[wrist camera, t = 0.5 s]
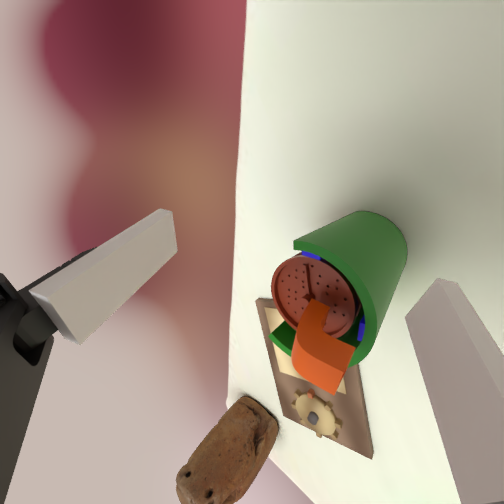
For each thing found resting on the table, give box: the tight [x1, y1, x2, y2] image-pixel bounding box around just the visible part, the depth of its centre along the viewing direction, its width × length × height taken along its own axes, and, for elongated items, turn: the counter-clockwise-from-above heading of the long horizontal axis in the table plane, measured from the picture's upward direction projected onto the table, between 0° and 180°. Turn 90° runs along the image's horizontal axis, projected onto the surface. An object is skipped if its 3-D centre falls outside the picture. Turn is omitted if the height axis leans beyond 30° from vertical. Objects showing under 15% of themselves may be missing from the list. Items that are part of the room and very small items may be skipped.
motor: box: [268, 211, 407, 395], centre depth 20 cm, size 10×9×20 cm
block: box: [176, 396, 278, 504], centre depth 43 cm, size 11×8×20 cm
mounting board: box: [255, 298, 373, 460], centre depth 36 cm, size 16×25×3 cm, turn 18°
